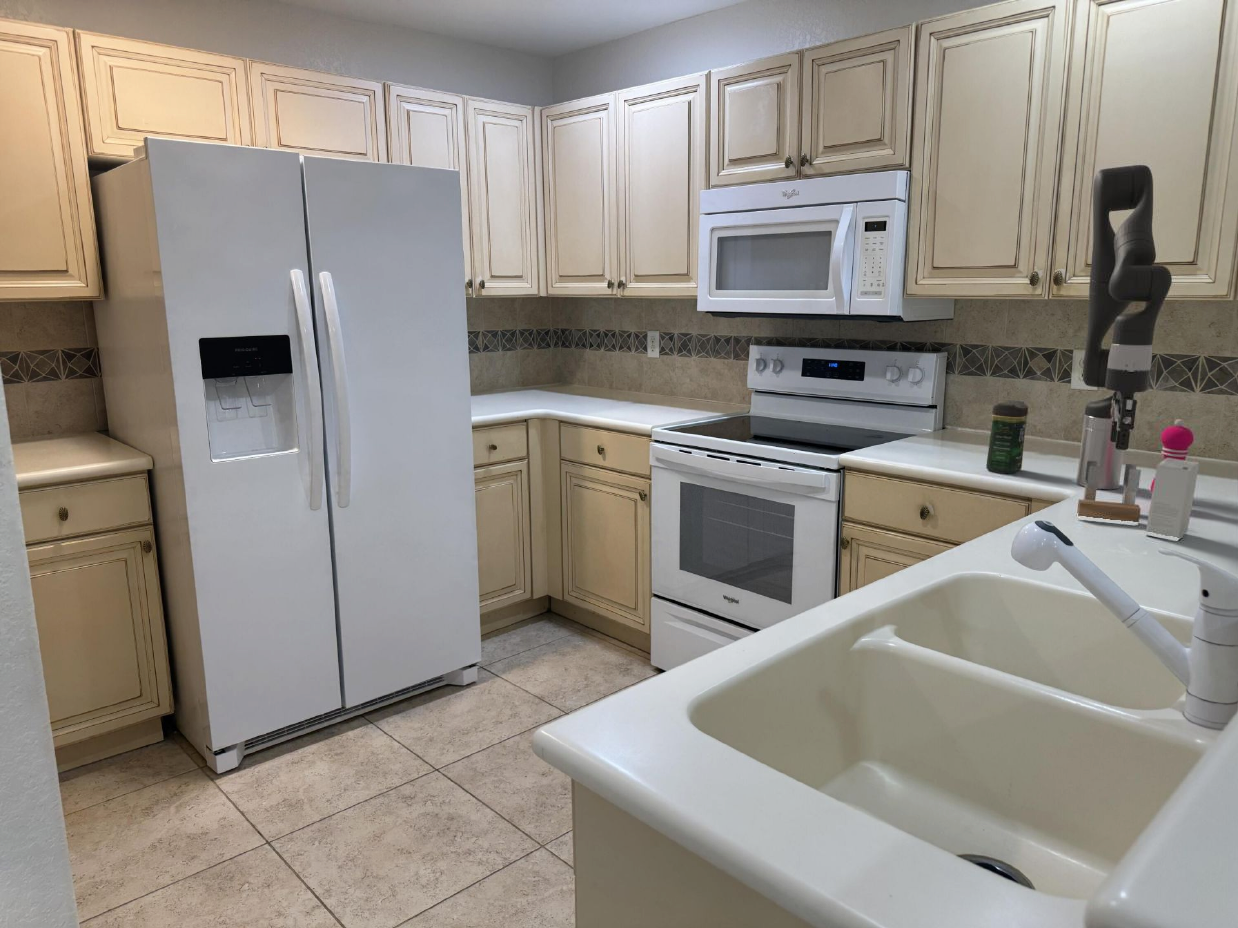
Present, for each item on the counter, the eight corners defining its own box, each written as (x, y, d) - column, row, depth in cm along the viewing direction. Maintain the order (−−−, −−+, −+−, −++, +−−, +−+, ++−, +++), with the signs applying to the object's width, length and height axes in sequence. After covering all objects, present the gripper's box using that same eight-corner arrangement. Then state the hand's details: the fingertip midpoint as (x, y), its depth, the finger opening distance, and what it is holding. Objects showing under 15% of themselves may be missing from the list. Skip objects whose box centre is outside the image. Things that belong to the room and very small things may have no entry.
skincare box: (1154, 528, 176) (1164, 456, 173) (1189, 534, 172) (1200, 461, 169) (1144, 536, 170) (1154, 463, 167) (1180, 543, 166) (1191, 467, 163)
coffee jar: (1013, 475, 222) (1020, 404, 218) (982, 471, 227) (988, 401, 224) (1025, 469, 229) (1033, 400, 225) (995, 465, 234) (1001, 397, 231)
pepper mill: (1150, 502, 196) (1163, 415, 192) (1188, 507, 192) (1201, 418, 188) (1145, 508, 191) (1157, 419, 187) (1183, 514, 186) (1197, 423, 182)
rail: (1076, 517, 185) (1078, 499, 184) (1135, 523, 180) (1138, 504, 180) (1077, 521, 181) (1080, 503, 181) (1138, 527, 177) (1140, 508, 176)
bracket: (1080, 505, 194) (1085, 460, 191) (1131, 510, 190) (1137, 464, 187) (1083, 512, 187) (1088, 466, 185) (1135, 517, 184) (1142, 470, 181)
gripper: (1103, 363, 182) (1094, 438, 185) (1112, 369, 169) (1101, 450, 172) (1144, 364, 179) (1134, 441, 182) (1156, 371, 166) (1145, 453, 170)
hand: (1118, 445), depth 177 cm, fingers open, 8 cm apart
